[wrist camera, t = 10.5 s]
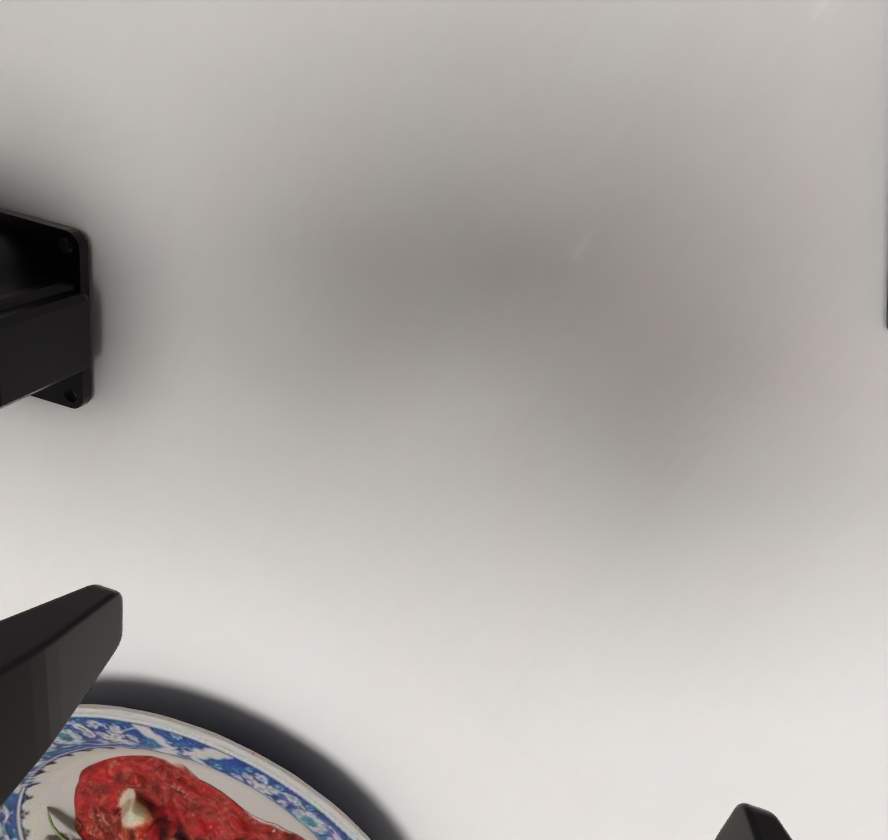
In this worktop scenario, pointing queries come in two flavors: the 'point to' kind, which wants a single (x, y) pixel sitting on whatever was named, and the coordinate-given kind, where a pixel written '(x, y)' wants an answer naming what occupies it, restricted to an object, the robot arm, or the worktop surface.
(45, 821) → the ceramic plate
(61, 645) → the robot arm
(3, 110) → the worktop surface
